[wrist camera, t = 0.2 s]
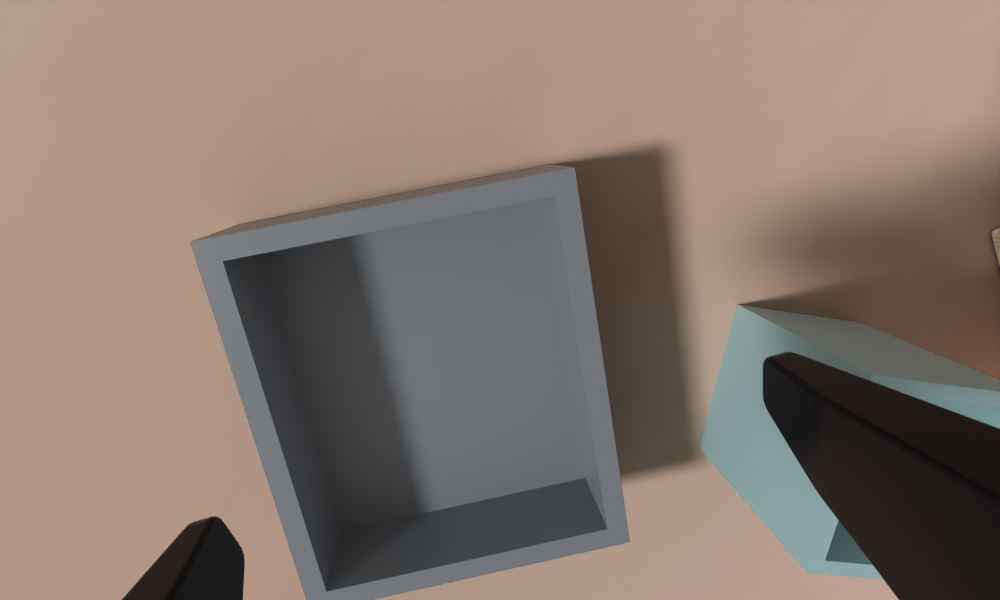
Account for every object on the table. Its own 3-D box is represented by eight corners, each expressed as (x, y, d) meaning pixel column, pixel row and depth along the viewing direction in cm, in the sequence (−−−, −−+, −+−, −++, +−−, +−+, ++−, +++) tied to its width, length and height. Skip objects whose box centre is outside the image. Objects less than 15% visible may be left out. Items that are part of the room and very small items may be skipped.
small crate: (815, 460, 28) (966, 586, 20) (698, 447, 28) (806, 572, 19) (859, 321, 27) (1042, 397, 19) (736, 304, 26) (871, 375, 18)
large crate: (600, 480, 27) (629, 541, 23) (332, 538, 27) (311, 613, 23) (550, 164, 24) (574, 167, 19) (237, 224, 23) (189, 241, 19)
